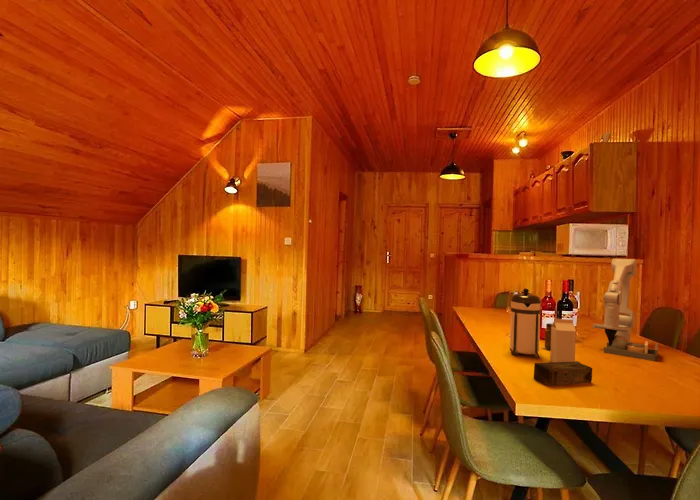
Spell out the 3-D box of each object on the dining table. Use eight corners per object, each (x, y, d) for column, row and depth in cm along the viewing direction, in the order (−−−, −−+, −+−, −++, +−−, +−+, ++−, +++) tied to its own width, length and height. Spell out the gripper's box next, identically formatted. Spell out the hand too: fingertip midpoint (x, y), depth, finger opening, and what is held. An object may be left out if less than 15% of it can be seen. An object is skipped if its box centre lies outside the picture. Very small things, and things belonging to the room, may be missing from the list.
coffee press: (552, 357, 167) (554, 289, 166) (524, 360, 161) (526, 290, 160) (521, 347, 183) (522, 285, 182) (495, 349, 177) (497, 286, 176)
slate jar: (608, 346, 182) (614, 333, 181) (622, 351, 180) (627, 338, 178) (609, 349, 177) (615, 336, 176) (623, 354, 175) (629, 341, 174)
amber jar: (626, 351, 179) (627, 341, 179) (644, 354, 175) (645, 344, 175) (625, 354, 174) (626, 344, 174) (644, 357, 170) (644, 346, 170)
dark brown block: (593, 384, 135) (593, 365, 135) (548, 387, 131) (548, 368, 130) (575, 376, 143) (575, 359, 143) (532, 379, 138) (532, 361, 138)
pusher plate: (645, 353, 176) (645, 340, 176) (647, 353, 175) (648, 341, 175) (644, 358, 168) (644, 345, 168) (647, 358, 167) (647, 345, 167)
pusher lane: (606, 347, 187) (607, 337, 187) (657, 355, 174) (657, 344, 174) (603, 352, 177) (604, 341, 177) (657, 361, 164) (657, 350, 164)
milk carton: (574, 368, 152) (576, 321, 152) (555, 366, 154) (557, 320, 153) (568, 362, 159) (569, 318, 159) (550, 361, 160) (551, 317, 160)
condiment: (547, 346, 185) (548, 322, 185) (566, 350, 179) (566, 325, 179) (540, 348, 181) (541, 324, 181) (559, 353, 174) (560, 327, 174)
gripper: (592, 315, 181) (591, 343, 181) (630, 320, 172) (628, 349, 172) (594, 314, 187) (593, 341, 187) (631, 318, 177) (629, 347, 177)
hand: (610, 345), depth 180 cm, fingers closed, pressing on slate jar
